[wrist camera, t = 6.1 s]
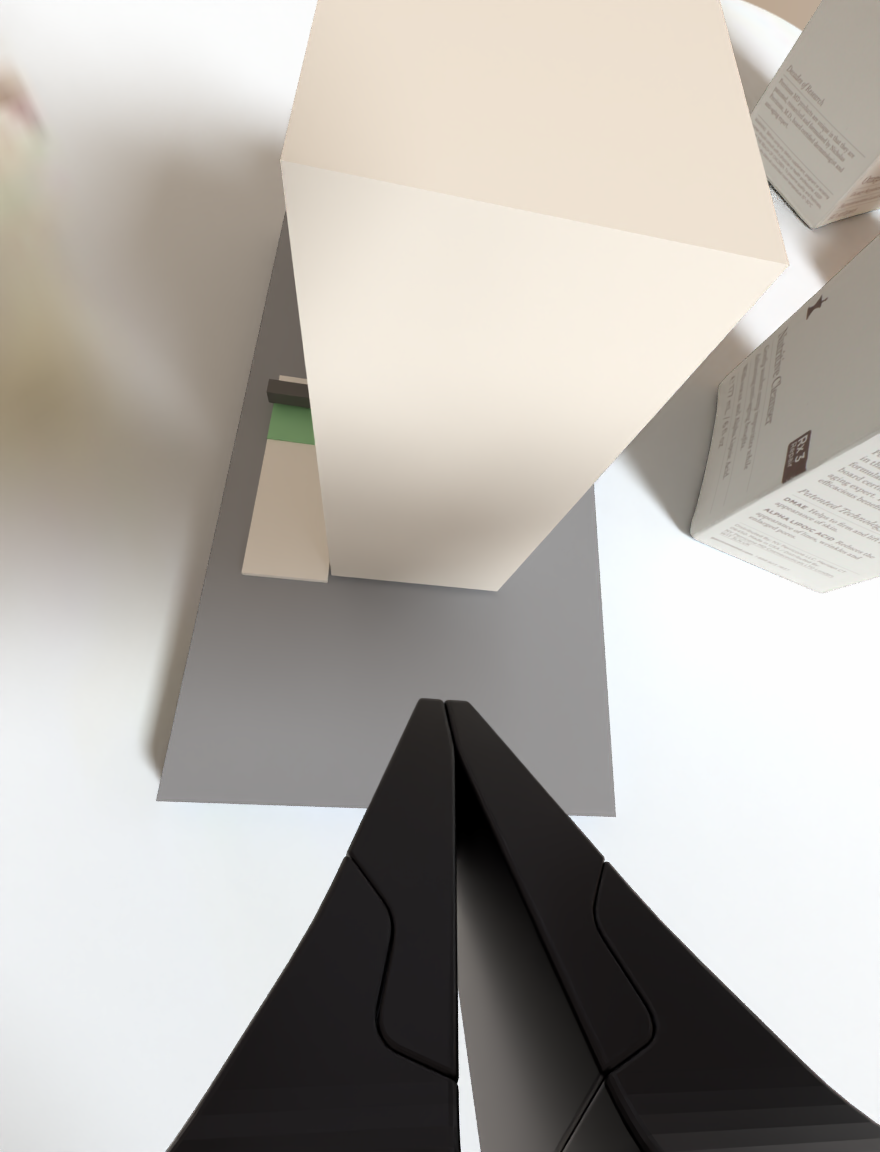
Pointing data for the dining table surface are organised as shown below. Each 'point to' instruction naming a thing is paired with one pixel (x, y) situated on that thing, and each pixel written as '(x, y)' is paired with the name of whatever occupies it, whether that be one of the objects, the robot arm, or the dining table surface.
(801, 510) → the skincare box
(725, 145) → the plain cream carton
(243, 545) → the gray flat rectangular panel
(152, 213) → the dining table surface
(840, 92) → the supplement box
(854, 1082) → the dining table surface
